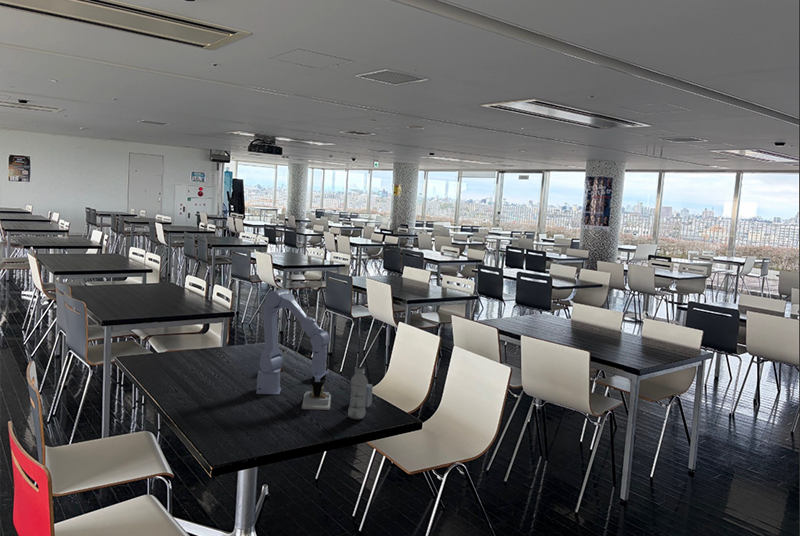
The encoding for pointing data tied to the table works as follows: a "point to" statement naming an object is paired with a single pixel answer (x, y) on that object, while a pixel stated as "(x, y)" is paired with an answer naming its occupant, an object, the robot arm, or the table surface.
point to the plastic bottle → (358, 394)
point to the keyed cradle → (316, 401)
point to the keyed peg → (320, 394)
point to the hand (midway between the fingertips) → (317, 393)
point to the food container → (283, 357)
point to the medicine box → (368, 395)
